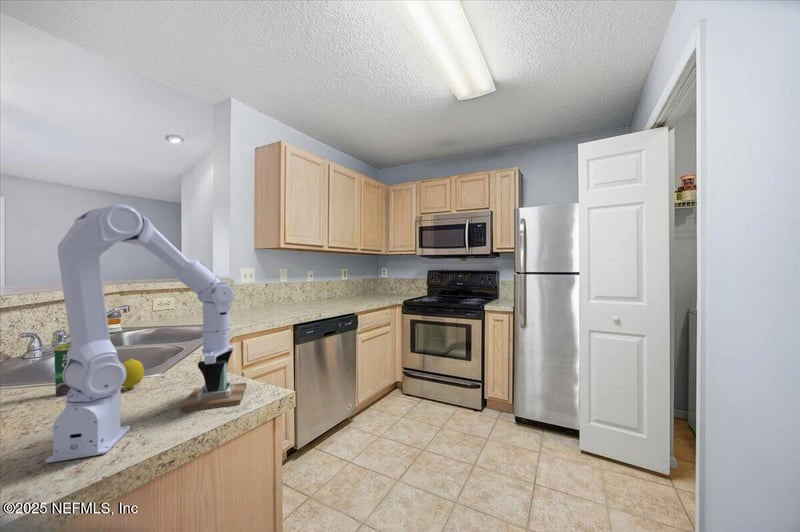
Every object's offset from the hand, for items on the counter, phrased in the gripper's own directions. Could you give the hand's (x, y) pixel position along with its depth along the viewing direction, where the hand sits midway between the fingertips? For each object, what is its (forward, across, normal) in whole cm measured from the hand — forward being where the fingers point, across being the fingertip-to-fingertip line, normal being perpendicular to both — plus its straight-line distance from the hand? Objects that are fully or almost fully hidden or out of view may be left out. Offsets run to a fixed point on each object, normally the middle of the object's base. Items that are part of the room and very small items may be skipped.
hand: (216, 385), depth 78 cm
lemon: (+3, +15, +23) cm, 28 cm away
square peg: (+2, 0, 0) cm, 2 cm away
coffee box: (+3, +17, +35) cm, 39 cm away
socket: (+3, 0, 0) cm, 3 cm away
